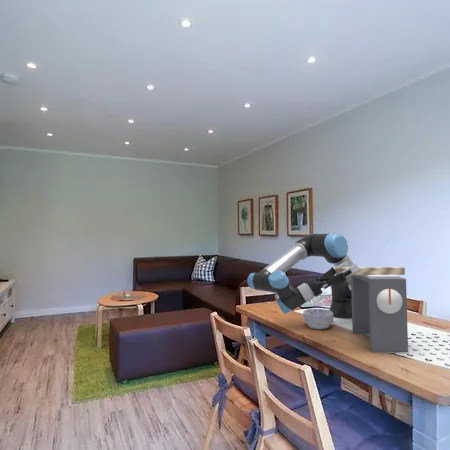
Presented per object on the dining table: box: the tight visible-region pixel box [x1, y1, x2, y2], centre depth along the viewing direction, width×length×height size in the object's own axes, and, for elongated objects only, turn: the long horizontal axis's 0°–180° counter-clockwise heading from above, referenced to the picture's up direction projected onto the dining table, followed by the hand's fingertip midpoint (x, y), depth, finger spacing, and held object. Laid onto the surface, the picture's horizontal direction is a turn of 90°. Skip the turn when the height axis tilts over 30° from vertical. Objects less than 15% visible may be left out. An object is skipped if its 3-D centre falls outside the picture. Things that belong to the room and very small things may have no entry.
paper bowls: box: [302, 308, 334, 330], centre depth 176 cm, size 15×15×8 cm
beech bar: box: [335, 266, 406, 276], centre depth 146 cm, size 28×3×3 cm, turn 85°
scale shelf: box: [351, 275, 409, 353], centre depth 151 cm, size 14×29×31 cm, turn 175°
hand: (352, 265), depth 146 cm, fingers open, 13 cm apart
